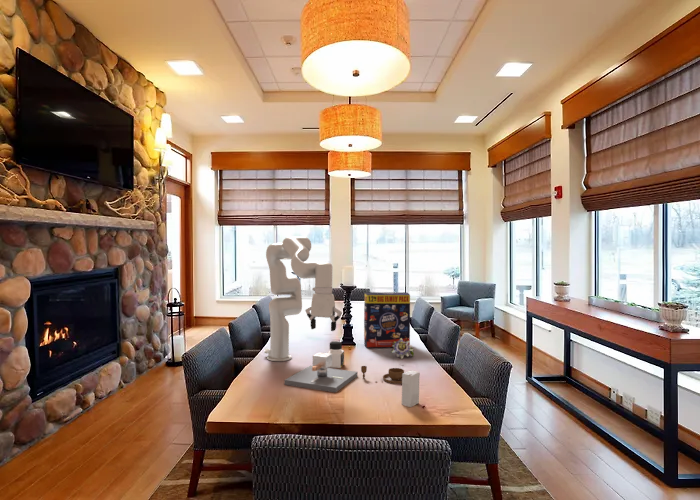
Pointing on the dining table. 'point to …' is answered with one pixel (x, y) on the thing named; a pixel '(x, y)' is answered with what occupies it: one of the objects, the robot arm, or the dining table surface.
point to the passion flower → (402, 348)
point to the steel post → (322, 372)
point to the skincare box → (410, 388)
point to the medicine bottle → (336, 354)
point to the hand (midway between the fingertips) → (323, 329)
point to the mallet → (321, 361)
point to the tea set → (388, 375)
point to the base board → (321, 379)
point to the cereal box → (386, 318)
